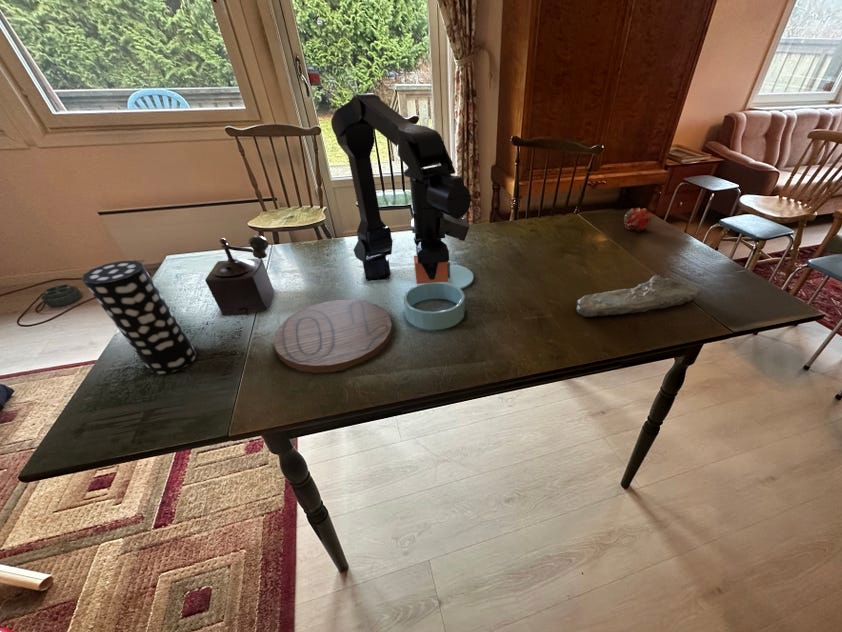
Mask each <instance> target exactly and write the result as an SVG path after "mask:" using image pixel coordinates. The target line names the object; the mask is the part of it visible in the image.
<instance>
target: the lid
mask: <svg viewBox="0 0 842 632" xmlns="http://www.w3.org/2000/svg"><path fill="white" fill-rule="evenodd" d="M447 270H448V282H445V283H449V284H452V285H455V286H457V287H459V288H460V289H461V290H463V289H465V288H467V287H469V286H470V285H471V284H472V283H473V281H474V273H473V272H472V271H471V270H470V269H469V268H467V267H466V266H463V265H459V264H453V263H451V262H450V261H448V262H447Z"/></svg>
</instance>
